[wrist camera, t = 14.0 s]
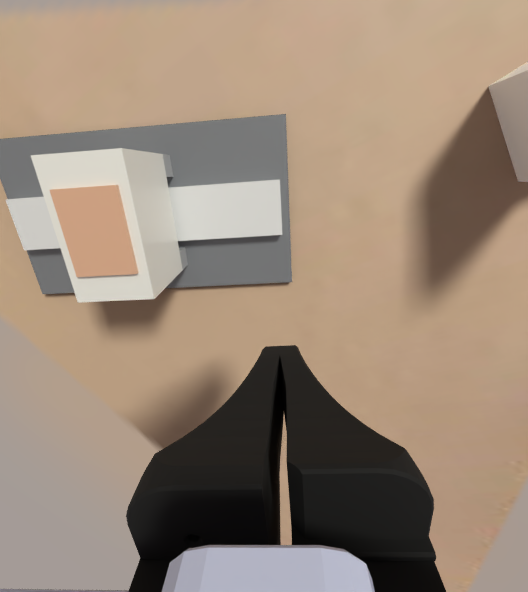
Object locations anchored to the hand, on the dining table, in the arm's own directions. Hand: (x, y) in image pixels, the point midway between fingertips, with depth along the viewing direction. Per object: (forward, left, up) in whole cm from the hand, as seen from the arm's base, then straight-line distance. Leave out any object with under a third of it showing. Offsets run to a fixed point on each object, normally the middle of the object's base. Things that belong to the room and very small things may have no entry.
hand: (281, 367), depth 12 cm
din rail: (+5, +8, -10) cm, 14 cm away
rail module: (+5, +8, -9) cm, 14 cm away
